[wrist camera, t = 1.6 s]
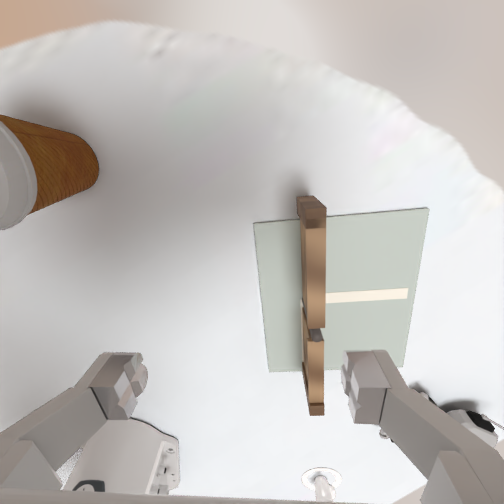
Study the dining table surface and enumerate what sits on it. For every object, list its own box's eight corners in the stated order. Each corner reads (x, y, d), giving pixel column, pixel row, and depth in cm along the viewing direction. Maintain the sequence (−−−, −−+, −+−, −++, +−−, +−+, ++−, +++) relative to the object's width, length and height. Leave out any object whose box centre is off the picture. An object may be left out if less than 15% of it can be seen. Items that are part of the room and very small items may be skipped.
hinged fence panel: (314, 296, 32) (325, 328, 26) (300, 296, 32) (308, 329, 26) (313, 195, 27) (326, 207, 21) (296, 197, 27) (305, 209, 21)
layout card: (401, 365, 37) (403, 367, 37) (269, 370, 39) (269, 372, 38) (427, 207, 28) (430, 208, 28) (253, 223, 30) (253, 224, 29)
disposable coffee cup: (54, 210, 30) (-66, 244, 19) (12, 125, 27) (-165, 107, 16) (125, 196, 29) (41, 224, 18) (91, 106, 26) (-39, 72, 15)
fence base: (313, 370, 38) (324, 418, 31) (302, 370, 38) (310, 418, 31) (313, 295, 33) (325, 333, 26) (299, 295, 33) (308, 333, 26)
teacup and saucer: (334, 492, 52) (339, 518, 48) (296, 486, 52) (299, 513, 48) (345, 467, 48) (352, 494, 44) (305, 462, 48) (309, 488, 44)
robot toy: (368, 419, 44) (443, 451, 44) (377, 447, 39) (460, 482, 40) (412, 373, 39) (495, 409, 40) (428, 399, 35) (520, 439, 35)
